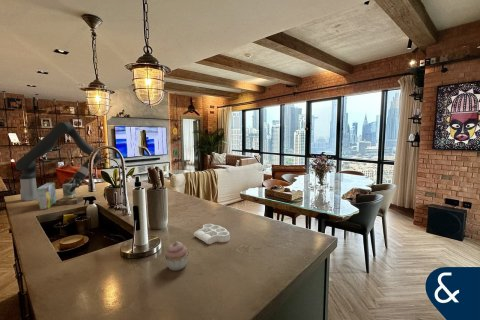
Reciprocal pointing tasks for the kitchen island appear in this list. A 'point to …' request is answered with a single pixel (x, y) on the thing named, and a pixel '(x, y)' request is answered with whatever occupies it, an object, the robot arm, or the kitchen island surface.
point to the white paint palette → (212, 234)
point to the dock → (69, 200)
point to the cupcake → (176, 256)
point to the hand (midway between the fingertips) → (67, 191)
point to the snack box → (46, 195)
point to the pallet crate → (66, 190)
